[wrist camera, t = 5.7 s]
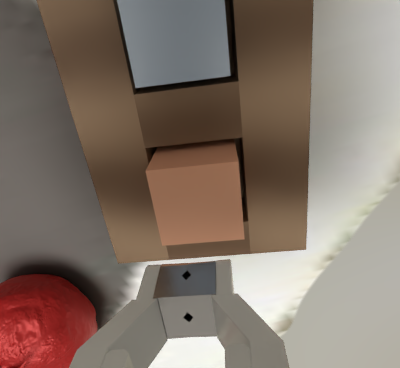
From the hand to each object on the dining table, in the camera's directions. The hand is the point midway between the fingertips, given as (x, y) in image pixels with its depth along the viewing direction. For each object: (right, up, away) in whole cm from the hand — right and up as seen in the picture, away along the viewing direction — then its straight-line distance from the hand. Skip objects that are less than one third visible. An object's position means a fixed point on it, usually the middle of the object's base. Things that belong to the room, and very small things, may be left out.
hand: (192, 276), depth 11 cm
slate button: (-1, +12, +5) cm, 13 cm away
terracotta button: (0, +4, +7) cm, 8 cm away
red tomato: (-13, -7, +17) cm, 22 cm away
